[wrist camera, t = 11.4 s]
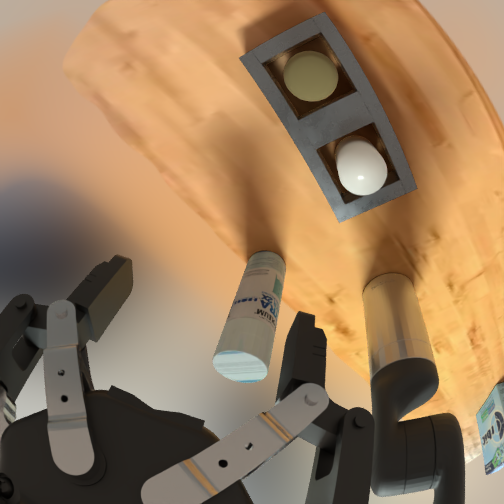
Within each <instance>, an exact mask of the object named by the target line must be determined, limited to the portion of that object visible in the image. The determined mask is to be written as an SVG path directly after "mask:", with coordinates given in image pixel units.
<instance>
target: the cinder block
mask: <svg viewBox="0 0 504 504" xmlns="http://www.w3.org/2000/svg"><path fill="white" fill-rule="evenodd" d="M318 37H321V38H322V40H323V41H324V42H325V44H326V46H327V47H328V49H329V50H330V52H331V53H332V55H333V56H334V58H335V60H336V61H337V63H338V64H339V66H340V68H341V69H342V71H343V73H344V74H345V76H346V78H347V79H348V81H349V83H350V84H351V86H352V88H353V90H352V91H350V92H347V93H345V94H343V95H341V96H339V97H337V98H335V99H333V100H331V101H329V102H327V103H325V104H323V105H321V106H319V107H317V108H315V109H313V110H311V111H309V112H307V113H305V114H303V115H301V116H299V114H298V113H297V111H296V109H295V108H294V106H293V105H292V103H291V101H290V100H289V98H288V97H287V95H286V94H285V92H284V91H283V89H282V87H281V86H280V84H279V83H278V81H277V80H276V78H275V77H274V75H273V74H272V72H271V71H270V69H269V68H268V67H267V64H268V63H270V62H272V61H274V60H276V59H277V58H279V57H281V56H283V55H285V54H286V53H288V52H290V51H292V50H294V49H296V48H298V47H300V46H302V45H304V44H306V43H308V42H310V41H312V40H314V39H316V38H318ZM239 59H240V60H241V62H242V63H243V65H244V66H245V67H246V69H247V70H248V72H249V73H250V75H251V76H252V78H253V79H254V80H255V82H256V83H257V85H258V86H259V88H260V89H261V91H262V92H263V94H264V95H265V97H266V98H267V100H268V101H269V103H270V104H271V106H272V108H273V109H274V111H275V112H276V114H277V115H278V117H279V118H280V120H281V122H282V123H283V125H284V126H285V128H286V130H287V131H288V133H289V135H290V136H291V138H292V139H293V141H294V143H295V144H296V146H297V148H298V149H299V151H300V153H301V154H302V156H303V158H304V160H305V161H306V163H307V165H308V166H309V168H310V170H311V172H312V173H313V175H314V177H315V179H316V181H317V182H318V184H319V186H320V188H321V189H322V191H323V193H324V195H325V197H326V199H327V200H328V202H329V204H330V206H331V208H332V210H333V212H334V214H335V215H336V217H337V219H338V221H339V223H340V222H343V221H345V220H347V219H350V218H352V217H354V216H356V215H359V214H361V213H363V212H366V211H368V210H370V209H372V208H375V207H377V206H379V205H382V204H384V203H386V202H388V201H391V200H393V199H395V198H397V197H400V196H402V195H404V194H407V193H409V192H411V191H413V190H416V189H417V186H416V183H415V180H414V178H413V175H412V173H411V170H410V168H409V165H408V163H407V160H406V158H405V155H404V153H403V151H402V148H401V146H400V144H399V141H398V139H397V137H396V135H395V132H394V130H393V128H392V126H391V124H390V122H389V120H388V117H387V115H386V113H385V111H384V109H383V107H382V105H381V103H380V101H379V99H378V98H377V96H376V94H375V92H374V90H373V88H372V86H371V84H370V83H369V81H368V79H367V77H366V76H365V74H364V72H363V70H362V69H361V67H360V65H359V63H358V62H357V60H356V58H355V57H354V55H353V54H352V52H351V50H350V49H349V47H348V46H347V44H346V42H345V41H344V39H343V38H342V36H341V35H340V33H339V32H338V30H337V29H336V27H335V26H334V24H333V23H332V21H331V20H330V19H329V17H328V16H327V14H326V13H325V12H323V13H321V14H319V15H317V16H314V17H312V18H310V19H308V20H306V21H304V22H302V23H300V24H298V25H296V26H294V27H292V28H290V29H288V30H286V31H285V32H283V33H281V34H279V35H277V36H275V37H273V38H272V39H270V40H268V41H266V42H265V43H263V44H261V45H259V46H258V47H256V48H254V49H253V50H251V51H249V52H248V53H246V54H244V55H243V56H241V57H240V58H239ZM370 123H372V125H373V127H374V129H375V132H376V134H377V136H378V138H379V140H380V142H381V144H382V146H383V148H384V151H385V153H386V155H387V157H388V159H389V162H390V164H391V166H392V169H393V171H390V172H388V173H387V177H386V180H385V182H384V184H383V186H382V187H381V188H380V189H379V190H378V191H376V192H374V193H372V194H369V195H357V194H354V193H351V192H350V191H346V192H344V193H342V191H341V189H340V187H339V185H338V183H337V181H336V179H335V177H334V175H333V174H332V172H331V170H330V168H329V166H328V164H327V162H326V161H325V159H324V157H323V155H322V153H321V152H320V150H319V148H320V147H322V146H324V145H326V144H328V143H330V142H332V141H334V140H336V139H338V138H340V137H342V136H344V135H346V134H349V133H351V132H353V131H355V130H357V129H359V128H361V127H363V126H366V125H368V124H370Z"/></svg>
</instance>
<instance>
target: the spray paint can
mask: <svg viewBox="0 0 504 504" xmlns="http://www.w3.org/2000/svg"><path fill="white" fill-rule="evenodd" d="M285 272H286V267H285V263H284V261H283V259H282V258H281V257H280V256H279V255H277V254H276V253H274V252H271V251H259V252H257V253H255V254H253V255H252V256H251V258H250V259H249V260H248V263H247V266H246V269H245V271H244V274H243V277H242V280H241V282H240V285H239V288H238V291H237V293H236V296H235V299H234V301H233V304H232V307H231V310H230V312H229V316H228V318H227V321H226V324H225V326H224V329H223V332H222V334H221V337H220V340H219V343H218V345H217V348H216V351H215V353H214V357H213V365H214V367H215V369H216V370H217V371H218V372H219V373H220V374H222V375H223V376H225V377H227V378H229V379H231V380H234V381H237V382H243V383H252V382H257V381H260V380H262V379H263V378H265V376H266V375H267V373H268V369H269V364H270V358H271V353H272V348H273V342H274V337H275V331H276V325H277V319H278V314H279V308H280V302H281V296H282V290H283V284H284V278H285Z"/></svg>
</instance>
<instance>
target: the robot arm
mask: <svg viewBox="0 0 504 504" xmlns="http://www.w3.org/2000/svg"><path fill="white" fill-rule="evenodd" d="M132 287H133V272H132V260H131V259H129V258H126V257H123V256H120V255H115V256H114V257H113V258H112V259H111V260H110V261H109V263H108V262H103V263H101V264H99V265H97V266H96V267H95V268H94V269H93V270H92V271H91V272H90V274H89V275H87V277H86V278H85V280H83V281H82V282H81V283H80V284H79V286H78V287H77V288H76V289H75V290H74V291H73V293H72V294H71V295H70V296H69V297H68V298H67V299H66V300H59V301H56V302H54V303H53V304H51V305H50V306H45V305H38V304H35V303H34V300H33V298H32V297H31V296H30V295H28V294H20V295H18V296H16V297H14V298H13V299H12V300H11V301H10V303H9V304H8V305H7V306H6V307H5V309H4V310H3V311H2V313H1V314H0V504H253V502H252V500H251V498H250V496H249V494H248V493H247V490H246V488H245V486H244V484H243V483H242V481H243V480H244V479H245V478H247V477H248V476H250V475H251V474H252V473H254V472H255V471H256V470H258V469H259V468H260V467H262V466H263V465H264V464H265V463H266V462H268V461H269V460H270V459H271V458H273V457H274V456H275V455H276V454H278V453H279V452H280V451H281V450H283V449H284V448H285V447H286V446H288V445H289V444H290V443H291V442H292V441H293V440H295V439H296V438H297V437H300V438H302V439H303V440H306V441H307V442H309V443H311V444H313V445H315V446H317V447H316V452H315V458H314V463H313V469H312V474H311V479H310V484H309V488H308V493H307V498H306V503H305V504H368V501H369V494H370V485H371V488H372V491H373V493H374V494H375V495H377V496H380V497H384V496H385V497H386V496H395V495H400V494H407V493H413V492H418V491H423V490H428V489H433V488H434V502H433V504H465V458H464V445H463V438H462V432H461V428H460V425H459V422H458V420H457V419H456V417H455V416H454V415H452V414H451V413H442V414H436V415H431V416H428V417H422V418H417V419H412V420H406V421H401V422H398V421H399V420H400V419H401V418H402V417H404V416H405V415H406V414H408V413H409V412H411V411H412V410H414V409H416V408H418V407H419V406H421V405H423V404H424V403H426V402H427V401H428V400H429V399H431V398H432V397H433V395H434V394H435V393H436V391H437V389H438V385H439V378H438V373H437V368H436V364H435V360H434V356H433V352H432V348H431V344H430V340H429V337H428V333H427V329H426V326H425V322H424V319H423V315H422V312H421V309H420V305H419V302H418V299H417V296H416V293H415V290H414V287H413V284H412V282H411V281H410V279H408V278H407V277H406V276H404V275H402V274H398V273H388V274H384V275H380V276H378V277H376V278H375V279H373V280H372V281H371V282H370V283H369V284H368V285H367V286H366V288H365V289H364V292H363V306H364V315H365V324H366V334H367V344H368V356H369V368H370V384H371V398H372V415H371V414H370V412H369V411H367V410H366V409H364V408H360V407H355V408H352V409H350V410H347V409H345V408H343V407H341V406H339V405H338V404H336V403H334V402H333V401H332V400H331V399H330V398H329V397H328V394H327V392H326V391H325V370H326V346H327V338H326V336H325V334H324V331H323V329H320V328H316V327H315V315H312V314H308V313H305V312H301V311H299V312H298V313H297V315H296V317H295V320H294V322H293V324H292V326H291V328H290V331H289V333H288V335H287V339H286V342H285V348H284V354H283V361H282V367H281V373H280V379H279V384H278V390H277V396H276V402H275V406H274V407H273V408H271V409H270V410H269V411H267V412H265V413H264V412H262V413H260V414H258V415H257V416H255V417H254V418H253V419H251V420H250V421H248V422H247V423H245V424H244V425H242V426H241V427H239V428H238V429H236V430H235V431H233V432H232V433H230V434H229V435H227V436H226V437H224V438H223V439H221V440H220V439H219V438H218V437H217V436H216V435H215V434H214V433H213V432H211V431H210V430H208V429H207V428H206V427H204V422H205V421H204V420H201V419H198V418H195V417H191V416H189V415H186V414H183V413H178V412H169V411H161V410H155V409H153V408H151V407H150V406H148V405H147V404H145V403H144V402H142V401H141V400H140V399H138V398H137V397H135V396H134V395H133V394H130V393H128V392H126V391H123V390H121V389H119V388H116V387H115V386H111V387H110V389H109V391H107V390H95V389H94V386H93V383H92V378H91V374H90V367H89V361H88V353H87V346H86V343H87V342H88V340H89V339H90V340H92V341H95V342H97V341H98V340H99V339H100V337H101V336H102V334H103V333H104V331H105V330H106V328H107V327H108V325H109V324H110V322H111V321H112V319H113V318H114V316H115V315H116V314H117V312H118V311H119V309H120V308H121V306H122V305H123V303H124V302H125V301H126V299H127V298H128V296H129V295H130V293H131V291H132ZM20 337H21V338H20ZM19 338H20V339H19ZM18 340H19V341H18ZM17 341H18V342H17ZM15 344H16V345H15ZM13 347H14V348H13ZM42 354H43V361H44V378H45V391H46V401H47V409H44V410H42V411H39V412H37V413H34V414H32V415H29V416H27V417H24V418H21V419H19V420H16V421H14V420H15V419H16V404H15V400H16V399H17V397H18V395H19V393H20V391H21V390H22V388H23V386H24V384H25V383H26V381H27V379H28V378H29V376H30V374H31V372H32V371H33V369H34V367H35V366H36V364H37V363H38V361H39V359H40V358H41V356H42Z"/></svg>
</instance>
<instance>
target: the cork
mask: <svg viewBox="0 0 504 504" xmlns="http://www.w3.org/2000/svg"><path fill="white" fill-rule="evenodd" d="M283 75H284V82H285V84H286V86H287V88H288V90H289V91H290V92H291V93H292V94H293V95H294V96H296V97H298V98H299V99H301V100H305V101H320V100H322V99H325V98H327V97H328V96H329V95H331V94H332V93H333V91H334V90H335V88H336V86H337V82H338V72H337V69H336V67H335V65H334V63H333V62H332V61H331V60H330V59H329V58H328V57H327V56H325V55H323V54H322V53H319V52H315V51H303V52H300V53H297V54H295V55H294V56H293V57H291V58H290V59H289V60H288V62H287V64H286V65H285V68H284V73H283Z"/></svg>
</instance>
